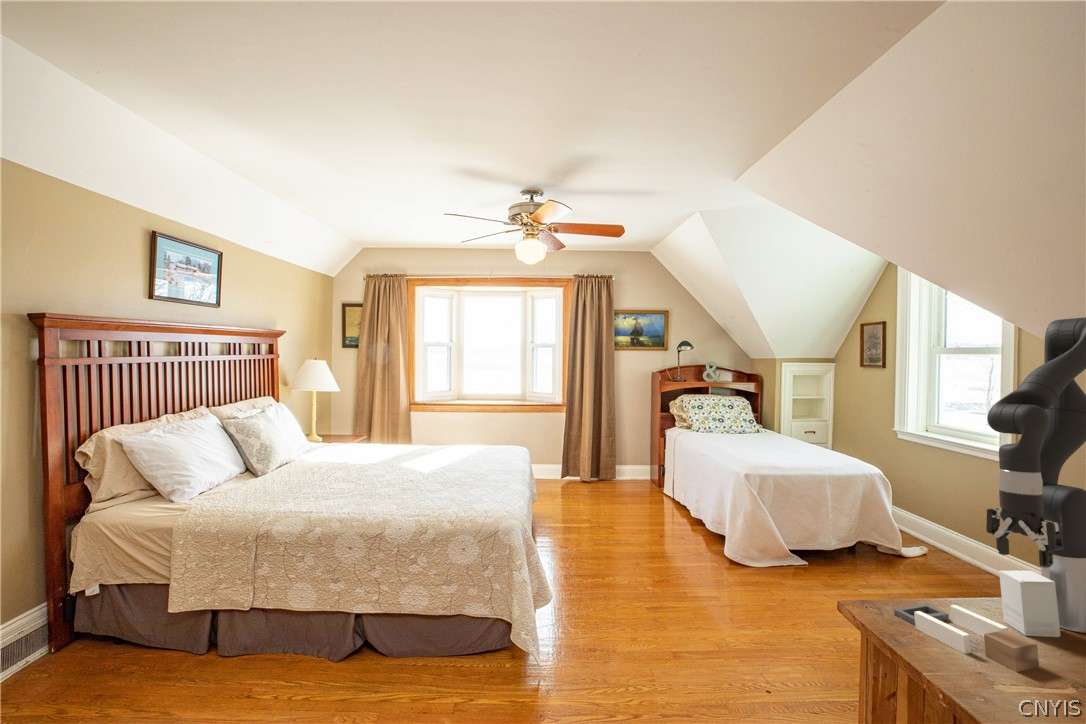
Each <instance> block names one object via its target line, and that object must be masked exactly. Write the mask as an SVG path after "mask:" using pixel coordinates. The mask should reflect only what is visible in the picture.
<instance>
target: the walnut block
mask: <svg viewBox="0 0 1086 724" xmlns="http://www.w3.org/2000/svg"><path fill="white" fill-rule="evenodd" d="M983 638H984V639H983V640H984V651H985V658H987V659H988V660H989V659H990V660H991V661H994V662H995V663H997V664H1000V665H1001V666H1004V667H1005V668H1008V669H1009V670H1011V671H1013V672H1015V673H1018V672H1023V671H1028V670H1033V669H1039V668H1040V657H1039V651H1038V650H1039V649H1038V643H1037V642H1034V641H1032V640H1030V639H1027V638H1025V637H1023V636H1022V635H1021V636H1020V635H1018V634H1016V633H1014V632H1012V631H1009V630H1008V631H1007V630H1003V631H998V632H993V633H988V634H984V637H983Z"/></svg>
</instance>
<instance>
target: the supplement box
mask: <svg viewBox="0 0 1086 724" xmlns="http://www.w3.org/2000/svg"><path fill="white" fill-rule="evenodd" d="M998 573H999V583H1000V584H999V585H1000V594H1001V603H1002V604H1001V605H1002V616H1003V622H1004V623H1005V624H1007V625H1008V626H1010V627H1012V628H1013V629H1015V630H1016V631H1018V632H1019V633H1020V634H1022V635H1023V636H1026V637H1047V638H1050V637H1051V638H1060V637H1061V629H1060V628H1061V627H1060V626H1059V616H1058V607H1057V597H1056V587H1055V582H1054V581H1052V580H1050V579H1048V578H1046V577H1043V576H1041V574H1040V573H1038V572H1035V571H1033V570H998Z"/></svg>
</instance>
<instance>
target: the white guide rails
mask: <svg viewBox="0 0 1086 724" xmlns="http://www.w3.org/2000/svg"><path fill="white" fill-rule="evenodd" d="M949 610H950V612H949V613H950V621H951V623H952V622H953V624H955V625H957V626H959V627H961V628H964V629H965V630H967V631H969V632H971V633H974V634H976V635H978V636H980V637H983V638H984V634H988V633H993V632H998V631H1003V630H1007V631H1009V627H1007V626H1005V625H1004V624H1001V623H998V622H997V621H993V620H991V619H989V618H987V617H984V616H982V615H981V614H978V613H975V612H974V611H973V612H972V611H970V610H968V609H966V608H964V607H961V606H960V605H956V604H952V605H949ZM914 615H915V625H914V626H915V629H916V630H917V631H920V632H922V633H924V634H926V635H927V636H929V637H930V638H933V639H935V640H937V641H939V642H941V643H943V644H944V645H947V646H949V647H950V648H952V649H955V650H957V651H958V652H960V653H962V654H964V655H967V654H971V653H972V649H971V640H970V637H971V636H970V634H969V633H967V632H965V631H963V630H961V629H959V628H956V627H954V626H953V625H950V624H948V623H946V622H944V621H940V620H938V619H936V618H933V617H931V616H929V615H927V614H925V613H923V612H921V611H916V612H914Z"/></svg>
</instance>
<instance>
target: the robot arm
mask: <svg viewBox="0 0 1086 724" xmlns="http://www.w3.org/2000/svg"><path fill="white" fill-rule="evenodd" d="M1044 334H1045V335H1044V361H1043V362H1044V363H1043V364H1041V365H1040V366H1038V367H1036V368H1035V369H1033V370H1031V372H1030V373H1029V374H1028V375H1027V376H1026V377H1025V378H1024V380H1023V381H1022V382H1021V383H1020V384H1019V386H1018V387H1017V389H1016V390H1014V391H1011V392H1010V393H1008V394H1007V395H1006V396H1004V397H1002V398H1001V399H999V400H998V401H997V402H995V403H994V404H993V405H992V406H991V407H990V409H989V410H988V413H987V418H986V421H987V424H988V425H989V427H990V428H991V429H992V430H993V431H995V432H997V433H1001V434H1009V435H1010V434H1013V435H1020V439H1019V440H1018V441H1017V443H1006V444H1003V445H1001V446H999V450H998V463H999V470H998V471H999V472H998V495H999V497H998V498H999V500H998V501H999V506H1000V508H1001V510H1000V509H999V508H987V509H986V532H987V534H991V535H993V536H994V537H995V539H996V540H995V541H996V550H997V552H998V554H999V555H1000V556H1001V555H1002V556H1008V555H1009V554H1010V540H1009V538H1008V537H1009V536H1010V535H1011V534H1012V533H1013V534H1021V536H1025V537H1029V538H1030V540H1031V541H1032V542H1035V544H1036V546H1037V547H1038V557H1039V560H1038V561H1039V562H1038V563H1039V567H1040V572H1041V573H1040V575H1041V576H1043V577H1046V578H1048V579H1050V580H1052V581H1054V582H1055V587H1056V597H1057V607H1058V616H1059V626H1060V628H1062V629H1065V630H1069V631H1072V632H1078V633H1085V634H1086V490H1085V489H1083V488H1080V487H1077V486H1070V485H1069V486H1068V485H1063V484H1058V483H1059V479H1060V478H1059V477H1060V473H1061V471H1062V468H1063V466H1064V464H1066V462H1067V460H1069V459H1070V457H1072V455H1074V454H1075V452H1076V451H1078V450H1079V449H1080V448H1081V447H1082V446H1083V445H1084V444H1085V443H1086V393H1085V392H1084V390H1083V389H1082V387H1080V385H1079V384H1078V383H1077V382H1076V380H1075V378H1076V377H1078V376H1079V375H1080V374H1081V373H1083V372H1084V371H1085V370H1086V316H1085V317H1074V318H1073V317H1071V318H1063V319H1056V320H1053V321H1051V322H1050V323H1049V324H1048V326H1047V328H1046V331H1045V333H1044ZM1001 519H1002V521H1003V523H1002V524H1001V525H1000V523H1001ZM1043 528H1044V529H1043ZM1045 531H1046V532H1045Z"/></svg>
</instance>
